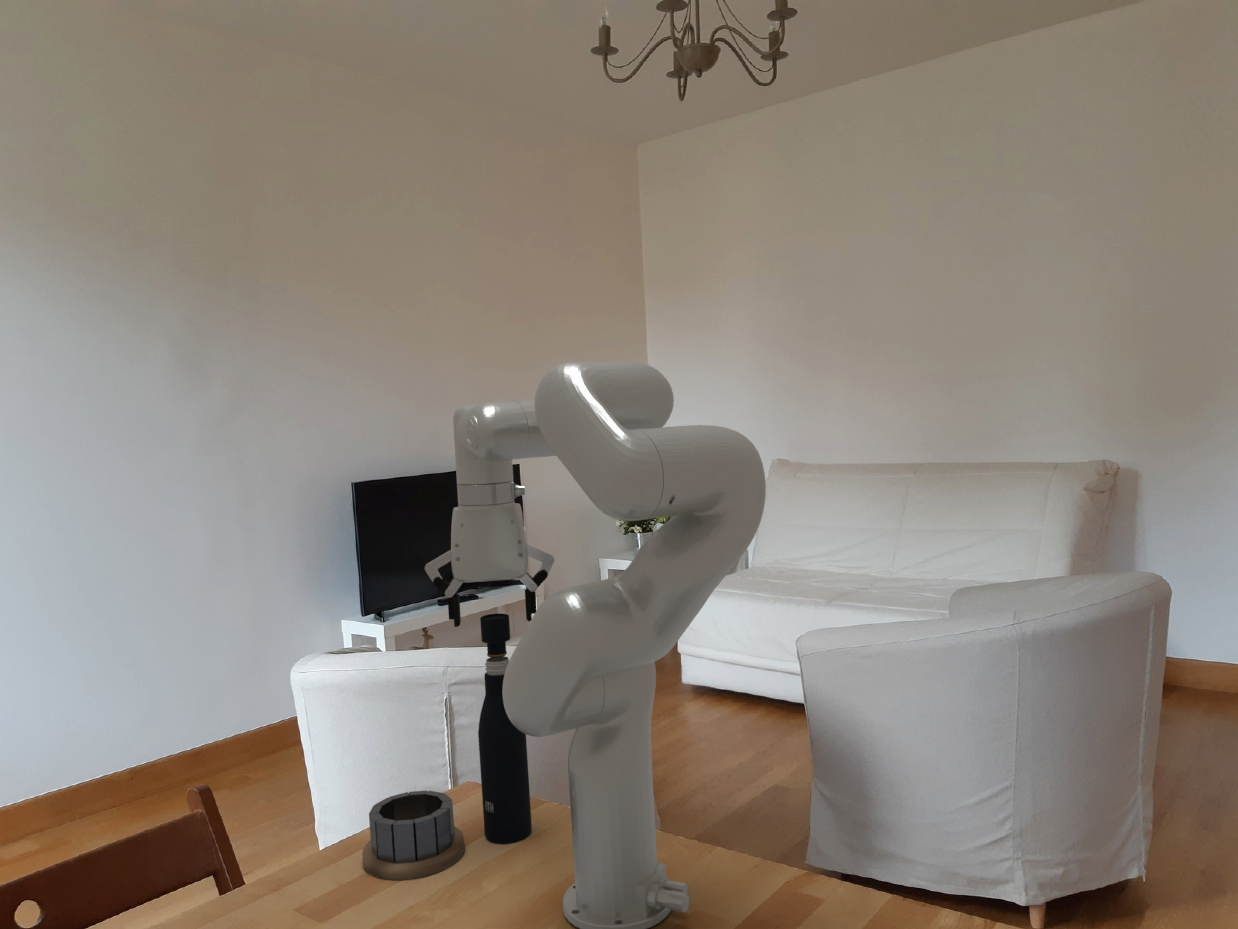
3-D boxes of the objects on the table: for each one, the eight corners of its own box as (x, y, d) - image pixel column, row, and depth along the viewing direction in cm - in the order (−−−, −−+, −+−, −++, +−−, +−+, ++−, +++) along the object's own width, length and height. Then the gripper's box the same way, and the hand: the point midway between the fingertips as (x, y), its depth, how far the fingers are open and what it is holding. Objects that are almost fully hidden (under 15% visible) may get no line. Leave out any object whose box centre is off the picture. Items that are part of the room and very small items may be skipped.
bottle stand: (484, 842, 125) (481, 795, 125) (420, 888, 114) (416, 836, 113) (409, 827, 131) (406, 781, 131) (341, 868, 120) (337, 819, 120)
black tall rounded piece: (536, 823, 130) (522, 610, 129) (527, 844, 124) (512, 620, 122) (491, 823, 131) (477, 612, 129) (479, 844, 125) (465, 622, 123)
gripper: (549, 490, 130) (556, 611, 131) (423, 497, 128) (431, 620, 129) (551, 494, 122) (558, 623, 124) (417, 502, 121) (426, 633, 122)
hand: (493, 621), depth 126 cm, fingers open, 9 cm apart
